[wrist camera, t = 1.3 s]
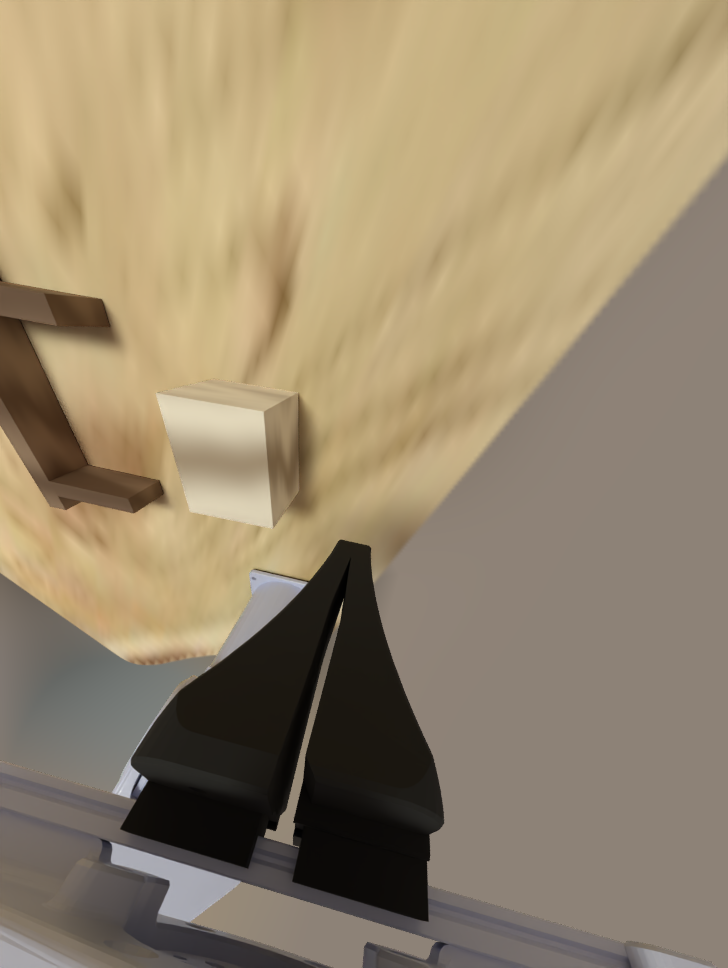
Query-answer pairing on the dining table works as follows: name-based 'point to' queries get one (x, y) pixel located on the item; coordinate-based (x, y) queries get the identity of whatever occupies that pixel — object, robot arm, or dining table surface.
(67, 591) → the dining table surface
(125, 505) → the walnut stop
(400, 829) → the robot arm
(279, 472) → the maple block
